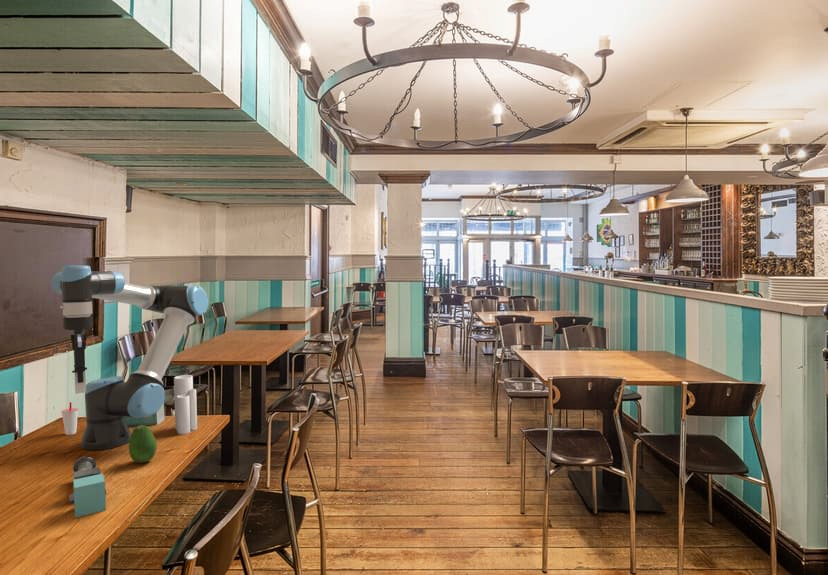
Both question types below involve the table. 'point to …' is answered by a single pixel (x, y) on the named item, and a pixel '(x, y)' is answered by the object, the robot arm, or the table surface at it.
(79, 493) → the socket
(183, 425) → the vase
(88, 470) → the guide
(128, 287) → the robot arm
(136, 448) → the fruit
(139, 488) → the table surface
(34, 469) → the table surface
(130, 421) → the box
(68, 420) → the cup
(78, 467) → the plunger
